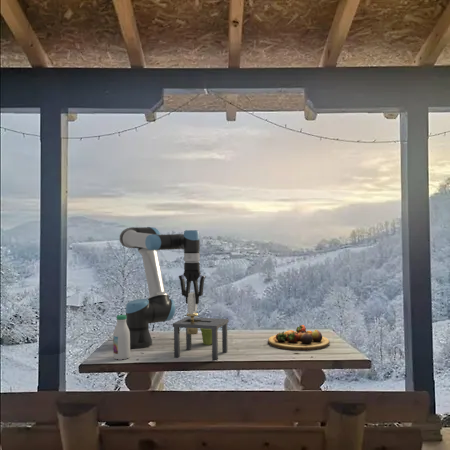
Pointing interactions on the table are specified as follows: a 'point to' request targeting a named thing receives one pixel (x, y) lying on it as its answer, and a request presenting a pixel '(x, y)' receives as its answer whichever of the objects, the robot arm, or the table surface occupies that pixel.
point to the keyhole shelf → (203, 324)
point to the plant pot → (207, 336)
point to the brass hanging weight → (192, 313)
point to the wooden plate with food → (299, 340)
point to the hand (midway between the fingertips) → (192, 310)
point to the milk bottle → (121, 339)
